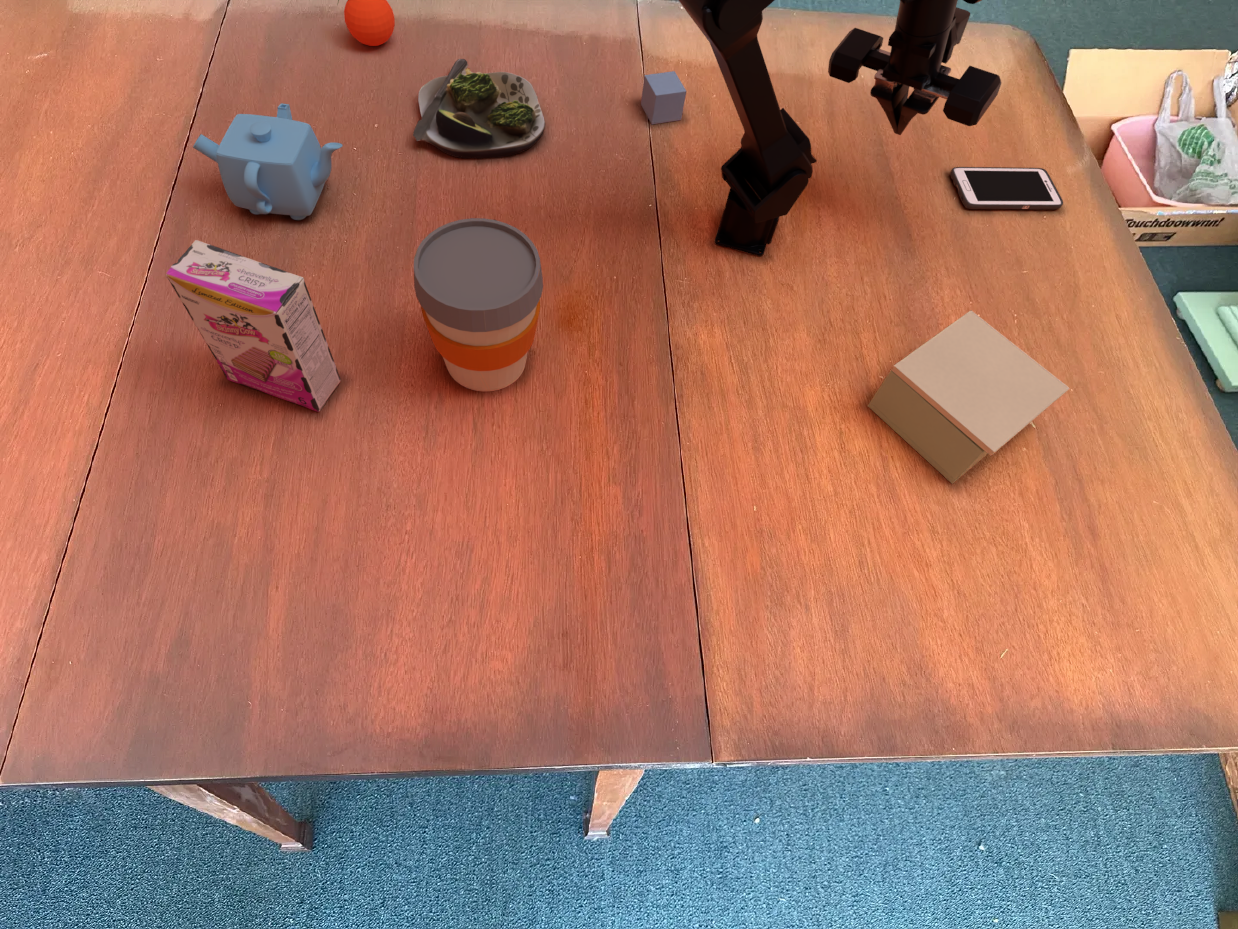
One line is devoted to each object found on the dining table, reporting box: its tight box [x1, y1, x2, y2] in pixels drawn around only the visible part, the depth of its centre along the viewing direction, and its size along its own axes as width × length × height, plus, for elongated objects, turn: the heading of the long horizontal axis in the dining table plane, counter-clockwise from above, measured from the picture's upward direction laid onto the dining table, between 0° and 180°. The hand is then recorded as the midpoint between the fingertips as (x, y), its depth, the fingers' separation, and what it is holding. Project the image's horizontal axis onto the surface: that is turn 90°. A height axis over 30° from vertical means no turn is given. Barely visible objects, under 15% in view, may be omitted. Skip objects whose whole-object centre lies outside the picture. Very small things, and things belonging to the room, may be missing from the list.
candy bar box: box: [165, 239, 342, 413], centre depth 76 cm, size 11×5×16 cm, turn 71°
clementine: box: [336, 0, 396, 47], centre depth 111 cm, size 8×7×7 cm
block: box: [640, 70, 687, 125], centre depth 110 cm, size 5×5×5 cm
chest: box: [867, 369, 989, 485], centre depth 86 cm, size 13×14×7 cm
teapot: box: [192, 103, 344, 221], centre depth 93 cm, size 18×14×10 cm
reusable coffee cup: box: [413, 217, 544, 392], centre depth 81 cm, size 13×13×15 cm
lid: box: [890, 309, 1071, 457], centre depth 83 cm, size 13×14×1 cm
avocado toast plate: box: [412, 58, 546, 159], centre depth 106 cm, size 19×18×5 cm
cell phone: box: [949, 166, 1064, 210], centre depth 110 cm, size 8×15×1 cm, turn 96°
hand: (899, 131), depth 98 cm, fingers closed
